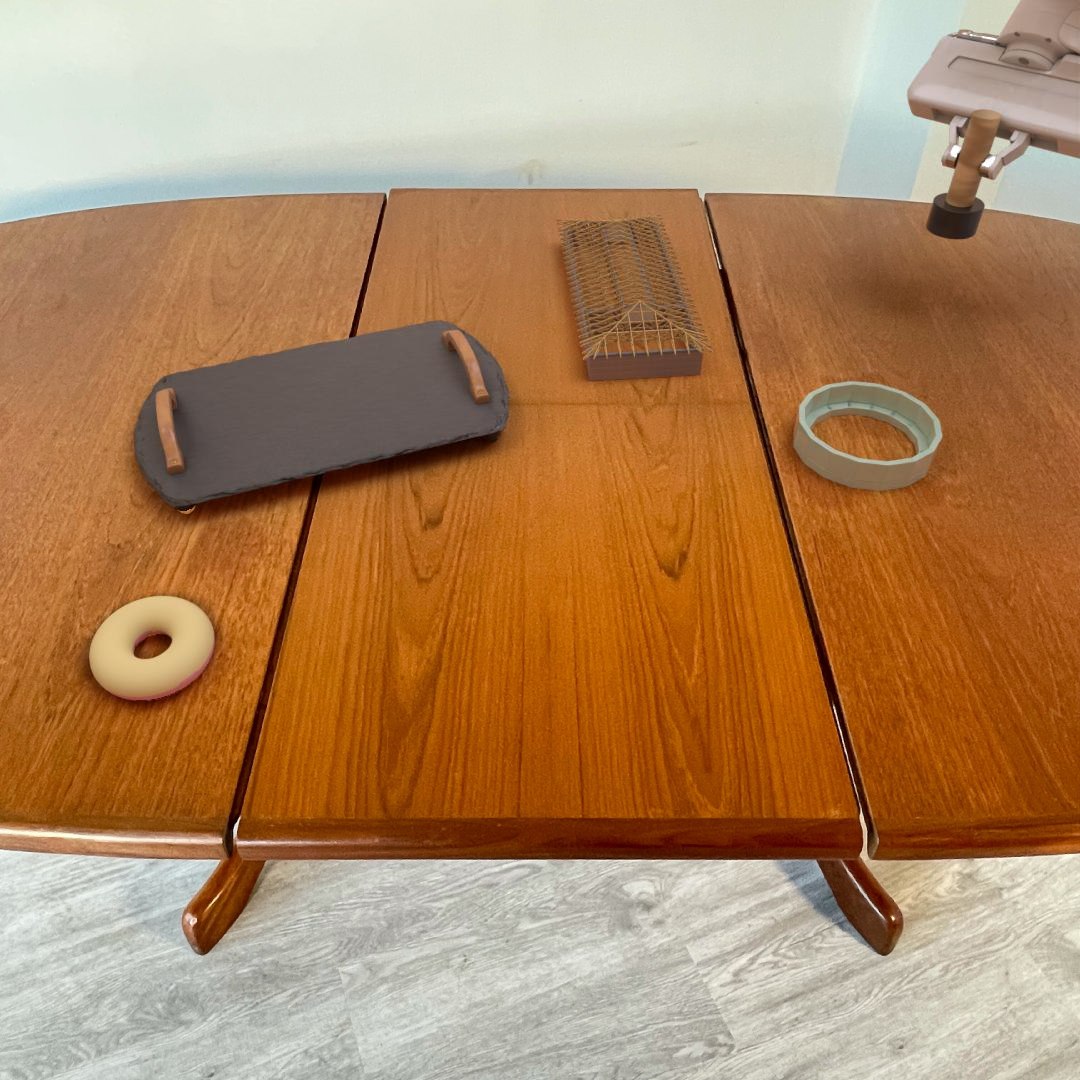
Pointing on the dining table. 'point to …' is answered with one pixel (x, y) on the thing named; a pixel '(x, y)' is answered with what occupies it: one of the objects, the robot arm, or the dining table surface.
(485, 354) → the serving tray
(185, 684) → the donut
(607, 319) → the rafter model
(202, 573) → the dining table surface
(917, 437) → the pale green band ring
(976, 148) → the wooden peg with base
